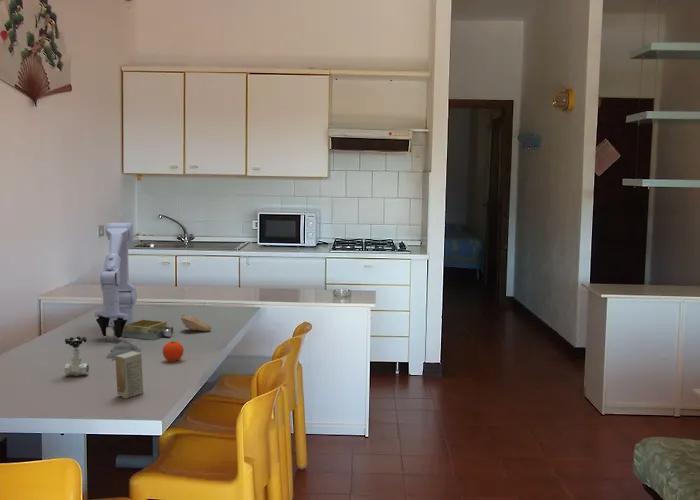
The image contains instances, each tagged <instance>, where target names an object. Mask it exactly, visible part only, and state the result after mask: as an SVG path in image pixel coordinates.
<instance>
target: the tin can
mask: <svg viewBox="0 0 700 500" xmlns="http://www.w3.org/2000/svg"><path fill="white" fill-rule="evenodd" d="M119 338H120V337H119ZM119 338H117V337H116V329H115V325H114V324H113V325H108V326H106V336H105V342H109V343H110V342H118V341H119V340H120V339H119Z"/></svg>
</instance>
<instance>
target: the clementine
mask: <svg viewBox="0 0 700 500" xmlns="http://www.w3.org/2000/svg"><path fill="white" fill-rule="evenodd" d="M162 355H163V357H164V358H165V360H167V361H169V362H177V361H178V360H180V359H181V358H182V357H183V355H184V348H183V345H182V344H181V343H180V342H179V341H178V340H171V341H168V342H166V344H164V346H163V348H162Z"/></svg>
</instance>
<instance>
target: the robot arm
mask: <svg viewBox="0 0 700 500" xmlns="http://www.w3.org/2000/svg"><path fill="white" fill-rule="evenodd" d="M133 227H134V226H133V223H132V222H131V221H130V222H107V223H106V224H105V235H106V237H107V240H108V241H109V250H108V251H109V253H108V254H107V255H106V256H105V260H104V265H103V270H102V271H101V272H100V275H99V276H100V277H99V281H100V286H101V287H100V288H101V291H102V303H103V305H102V306H103V307H102V308H103V310H100V311H99V310H97V311H94V317H95V318H96V320H95V321H96V322H97V324H98V326H99V328H100V330H101V333H102V336H103V337H106V326H108V325H113V324H114V325H115V329H116V337H117V338H122V332H123V328H124V326H125V324H129V323H132V322H134V308H133V307H134V306H135V305H136V304H137V288H136V286H135V285H133V284H132V283H131V282H130V281H129V244H130V243H132V242H134V241H133V240H134V228H133Z"/></svg>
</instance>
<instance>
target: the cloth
mask: <svg viewBox="0 0 700 500" xmlns="http://www.w3.org/2000/svg"><path fill="white" fill-rule="evenodd" d="M110 351H111V352H110V353H108V354H107V356H106V357H105V359H111V361H116V358H115V356H117V355H121V354H124V353H128V352H131V351H134V352H138V353H142V352H143V350H142V349H141V348H139V347H137V346H136V345H135V344H132V343H131V342H130V341H129V340H126V341H125V342H123V341H119V343H118V344H116V345H115V346H114V347H112V348H111V350H110Z"/></svg>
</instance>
